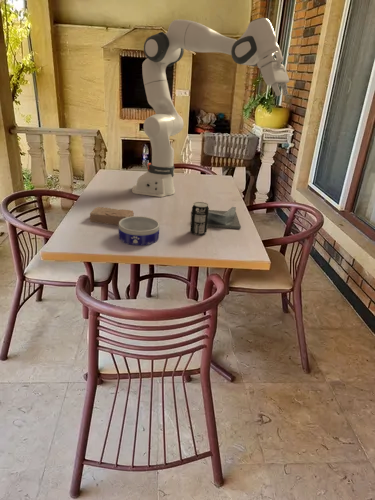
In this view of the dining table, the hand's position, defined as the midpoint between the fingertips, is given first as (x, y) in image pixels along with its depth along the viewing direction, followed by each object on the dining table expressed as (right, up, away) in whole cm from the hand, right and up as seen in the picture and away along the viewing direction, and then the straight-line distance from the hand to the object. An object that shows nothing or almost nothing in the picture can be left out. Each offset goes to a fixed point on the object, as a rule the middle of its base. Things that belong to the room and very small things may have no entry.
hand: (282, 95), depth 152 cm
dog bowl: (-57, -58, -7) cm, 81 cm away
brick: (-70, -50, +6) cm, 86 cm away
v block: (-26, -49, +15) cm, 57 cm away
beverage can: (-34, -55, +1) cm, 65 cm away
